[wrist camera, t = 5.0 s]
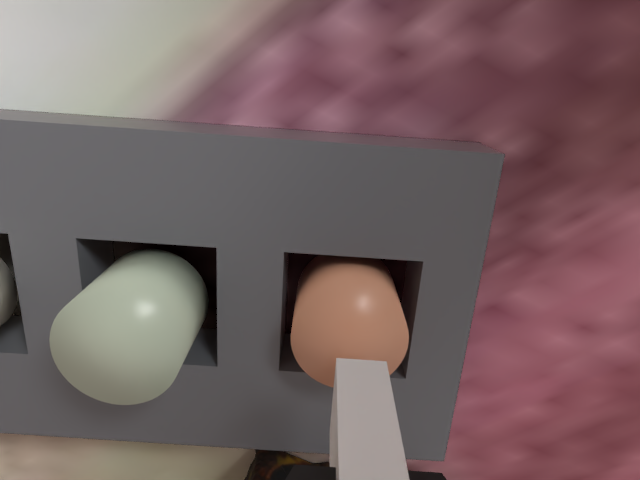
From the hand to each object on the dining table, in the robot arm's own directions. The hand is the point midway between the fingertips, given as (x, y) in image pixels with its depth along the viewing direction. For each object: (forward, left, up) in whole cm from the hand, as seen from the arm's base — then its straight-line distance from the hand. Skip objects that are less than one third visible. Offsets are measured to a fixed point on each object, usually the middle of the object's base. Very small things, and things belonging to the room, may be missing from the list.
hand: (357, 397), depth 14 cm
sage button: (0, -8, -6) cm, 10 cm away
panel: (0, -8, -8) cm, 11 cm away
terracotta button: (0, 0, -7) cm, 7 cm away
